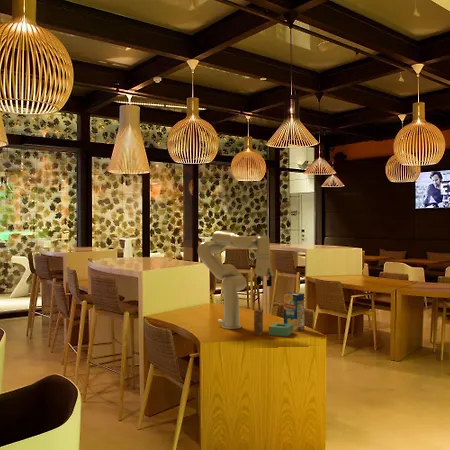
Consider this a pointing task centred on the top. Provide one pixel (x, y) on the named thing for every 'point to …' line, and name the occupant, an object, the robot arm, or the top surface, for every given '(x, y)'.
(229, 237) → the robot arm
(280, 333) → the green square frame
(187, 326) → the top surface
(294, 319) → the beverage box
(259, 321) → the long wooden beam
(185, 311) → the top surface
